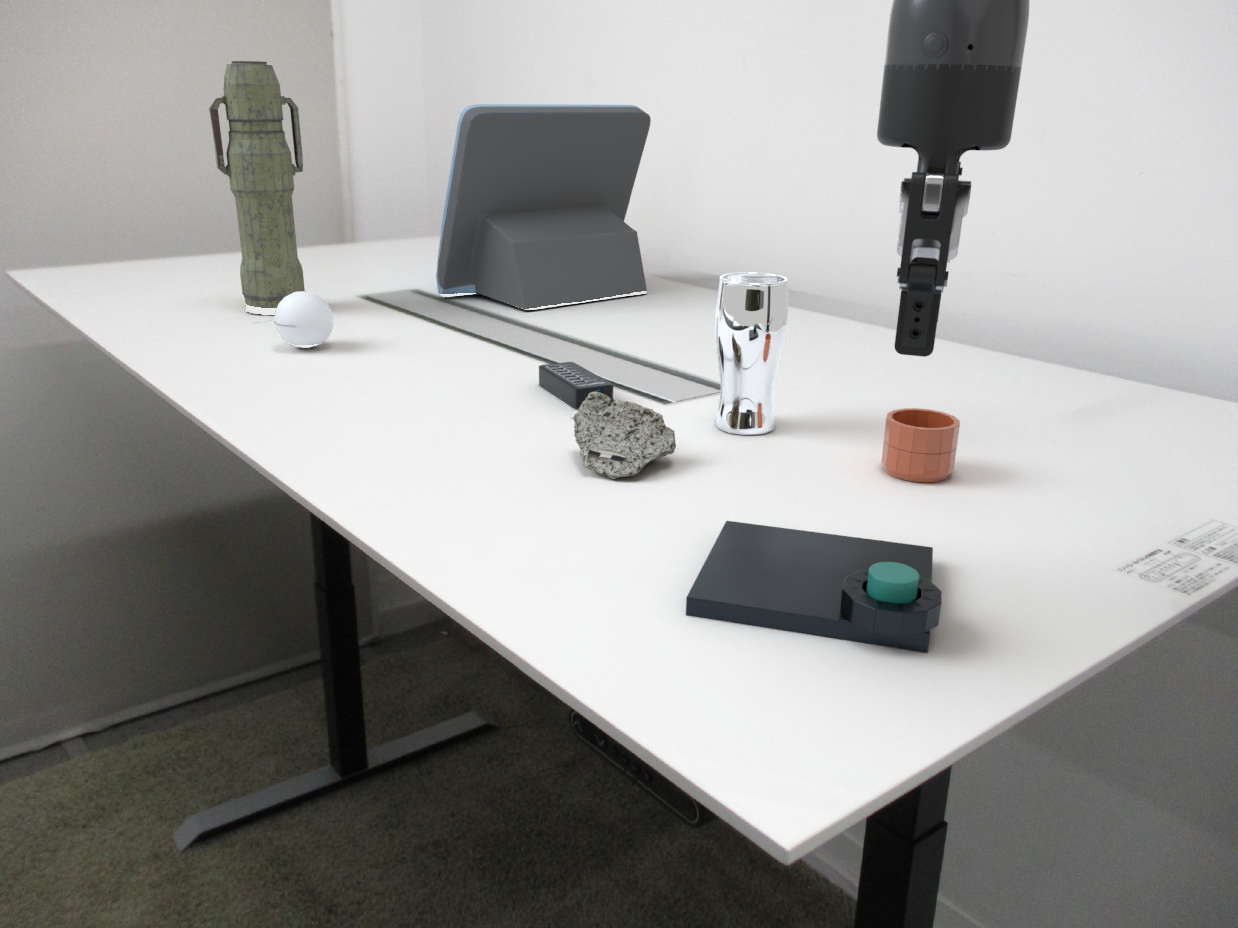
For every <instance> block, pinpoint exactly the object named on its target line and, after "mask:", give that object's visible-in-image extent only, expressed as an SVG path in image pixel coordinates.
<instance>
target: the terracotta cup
mask: <svg viewBox="0 0 1238 928" xmlns="http://www.w3.org/2000/svg"><path fill="white" fill-rule="evenodd" d="M884 425H885V426H884V436H883V444H882V453H881V461H880V462H881V465H882V466H883V467H884V468H885V471H886V473H888V475H890V476H892V477H894V478H897V479H900V480H903V481H907V482H914V483H936V482H940V481H944V480H945V479H947V478H948V476H949V475H950V474H951V473H953V472H954V470H955V463H956V455H957V447H958V440H959V435H960V434H959V433H960V426H961V421H960V419H958V418H957V417H956V416H954V415H953V414H950V413H946V412H943V411H940V410H936V409H935V410H934V409H928V408H917V407H912V408H909V407H907V408H898V409H893V410H891V411H889V412H887V413H886V417H885V424H884Z"/></svg>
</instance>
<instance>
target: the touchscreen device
mask: <svg viewBox="0 0 1238 928" xmlns="http://www.w3.org/2000/svg"><path fill="white" fill-rule="evenodd" d="M651 122H652V121H651V116H650V114H649V113H647V112H646V111H644V110H643V109H641V108H640V107H639V106H637V105H634V104H633V105H632V104H511V103H509V104H507V103H506V104H502V103H501V104H498V103H497V104H496V103H495V104H494V103H493V104H492V103H491V104H490V103H489V104H482V103H481V104H480V103H479V104H471V105H468V106H466V107H465V108H463V109H462V111H461V112H460V114H459V117H458V121H457V126H456V131H455V132H456V133H455V139H454V144H453V151H452V157H451V163H450V170H449V175H448V183H447V188H446V195H445V201H444V207H443V213H442V220H441V226H440V238H439V245H438V252H437V261H436V262H437V264H436V274H435V279H436V289H437V292H438V293H437V294H438V295H439V294H455V293H456V294H457V293H476V294H477V295H481V296H484V297H486V296H487V298H489V297H490V299H492V300H495V301H497V300H499V301H498V302H500V301H501V302H500V303H503V302H504V303H503V304H505V303H508V304H510V305H509V306H511V305H514V306H517V307H519V308H523V309H529V308H537V307H541V306H548V305H557V304H561V303H572V302H582V301H586V300H593V299H600V298H604V297H612V296H616V295H623V294H630V293H633V292H641V291H646V290H647V291H648V289H647V283H646V277H645V271H644V266H643V265H644V264H643V259H642V254H641V248H640V242H639V236H638V231H637V230H635V229H634V228H632V227H631V226H630V225H629V224H628V223H626V222H625V219H626V216H627V211H628V208H629V204H630V200H631V197H632V193H633V188H634V185H635V182H636V178H637V175H638V171H639V168H640V164H641V161H642V156H643V153H644V150H645V146H646V143H647V139H648V135H649V131H650V127H651ZM508 304H507V305H508ZM519 308H518V309H519Z"/></svg>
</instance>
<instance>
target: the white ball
mask: <svg viewBox="0 0 1238 928" xmlns="http://www.w3.org/2000/svg"><path fill="white" fill-rule="evenodd" d="M272 321H273V320H265V321H257V322H252V325H253V324H261V323H268V322H272ZM273 323H274V325H275V330H276V332H277V333H278V335H279V336H280V338H281V339H282V340H283V341H284V342H286V343H287V344H288V345H290V344H294V345H314V344H320V343H322V344H324V343H325V341H326V340H328V338H329V337H330V336H331V333H332V331H333V329H334V315H333V310H332V308H331V307H330V305H329V303H328V301H326V300H325V299H324V298H323V297H322V296H320V295H319V294H316V293H314V292H311V291H306V290H305V291H299V292H293V293H291V294H290V295H288V296H286V297H284V298H283V299H282V301H281V302H280V303H279V304H278V306H277V309H276V311H275V316H274V321H273ZM320 345H321V344H320Z"/></svg>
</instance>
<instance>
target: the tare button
mask: <svg viewBox="0 0 1238 928" xmlns="http://www.w3.org/2000/svg"><path fill="white" fill-rule="evenodd" d="M918 582H919V574H918V572H917V571H916V570H915V569H913V568H912V567H910V566H907V565H904V564H901V563H895V562H880V563H876V564H873V565H872V566H871V567H870V568H869V573H868V582H867V594H868V595H869V596H870V597H872V598H875V599H877V600H880V601H884V602H890V603H897V604H902V603H912V602H914V601H915V600H916V597H917V590H918Z"/></svg>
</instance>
